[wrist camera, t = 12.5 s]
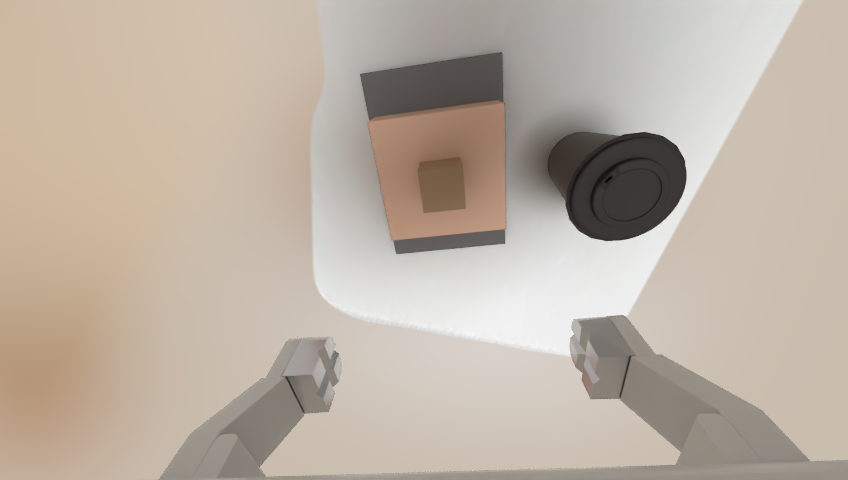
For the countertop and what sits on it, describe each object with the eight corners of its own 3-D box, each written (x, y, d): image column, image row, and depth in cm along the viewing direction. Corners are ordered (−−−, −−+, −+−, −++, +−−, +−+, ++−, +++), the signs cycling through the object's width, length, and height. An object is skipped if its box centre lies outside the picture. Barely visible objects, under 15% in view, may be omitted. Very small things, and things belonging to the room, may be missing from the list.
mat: (361, 73, 27) (360, 74, 27) (500, 52, 26) (502, 52, 26) (397, 251, 36) (396, 254, 35) (503, 240, 35) (505, 243, 34)
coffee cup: (542, 114, 28) (590, 132, 20) (633, 117, 28) (722, 138, 19) (526, 198, 32) (559, 246, 23) (605, 202, 32) (669, 251, 23)
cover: (374, 117, 28) (359, 127, 23) (497, 100, 27) (512, 106, 22) (395, 225, 34) (387, 256, 28) (499, 214, 33) (512, 244, 27)
